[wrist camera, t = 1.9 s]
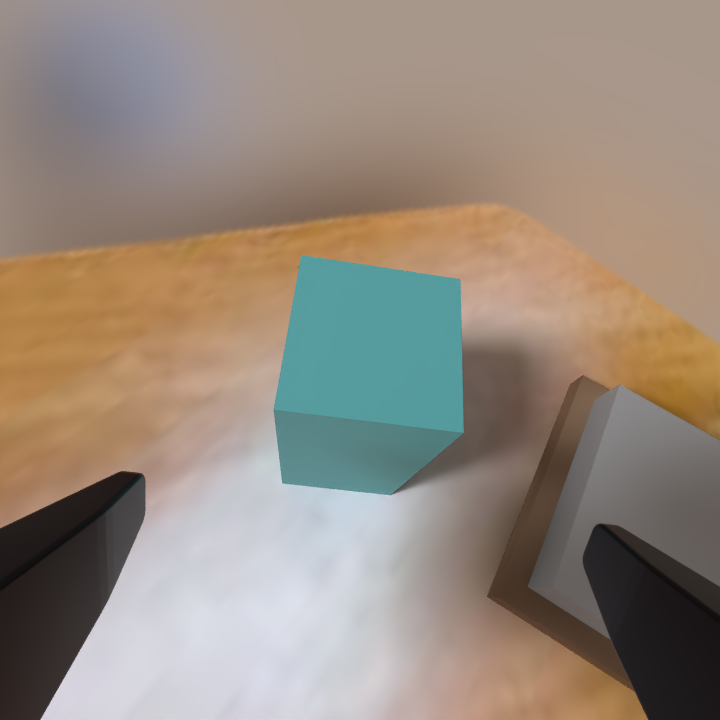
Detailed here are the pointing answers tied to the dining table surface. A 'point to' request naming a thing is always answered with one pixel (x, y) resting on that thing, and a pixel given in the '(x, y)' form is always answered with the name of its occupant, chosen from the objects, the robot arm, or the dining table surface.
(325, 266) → the teal block
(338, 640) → the dining table surface
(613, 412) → the grey slab
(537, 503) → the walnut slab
